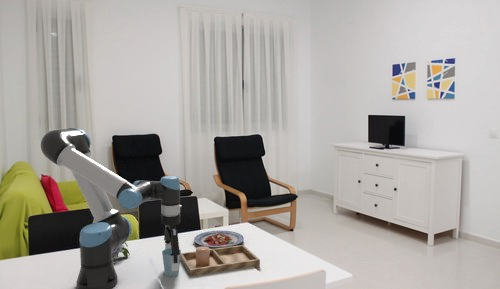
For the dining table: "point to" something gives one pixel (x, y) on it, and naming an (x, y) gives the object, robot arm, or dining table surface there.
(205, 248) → the tan rounded piece
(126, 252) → the passion flower
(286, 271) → the dining table surface
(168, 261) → the cup
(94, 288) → the robot arm
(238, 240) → the ceramic plate
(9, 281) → the dining table surface
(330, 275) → the dining table surface
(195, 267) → the divided wooden tray
